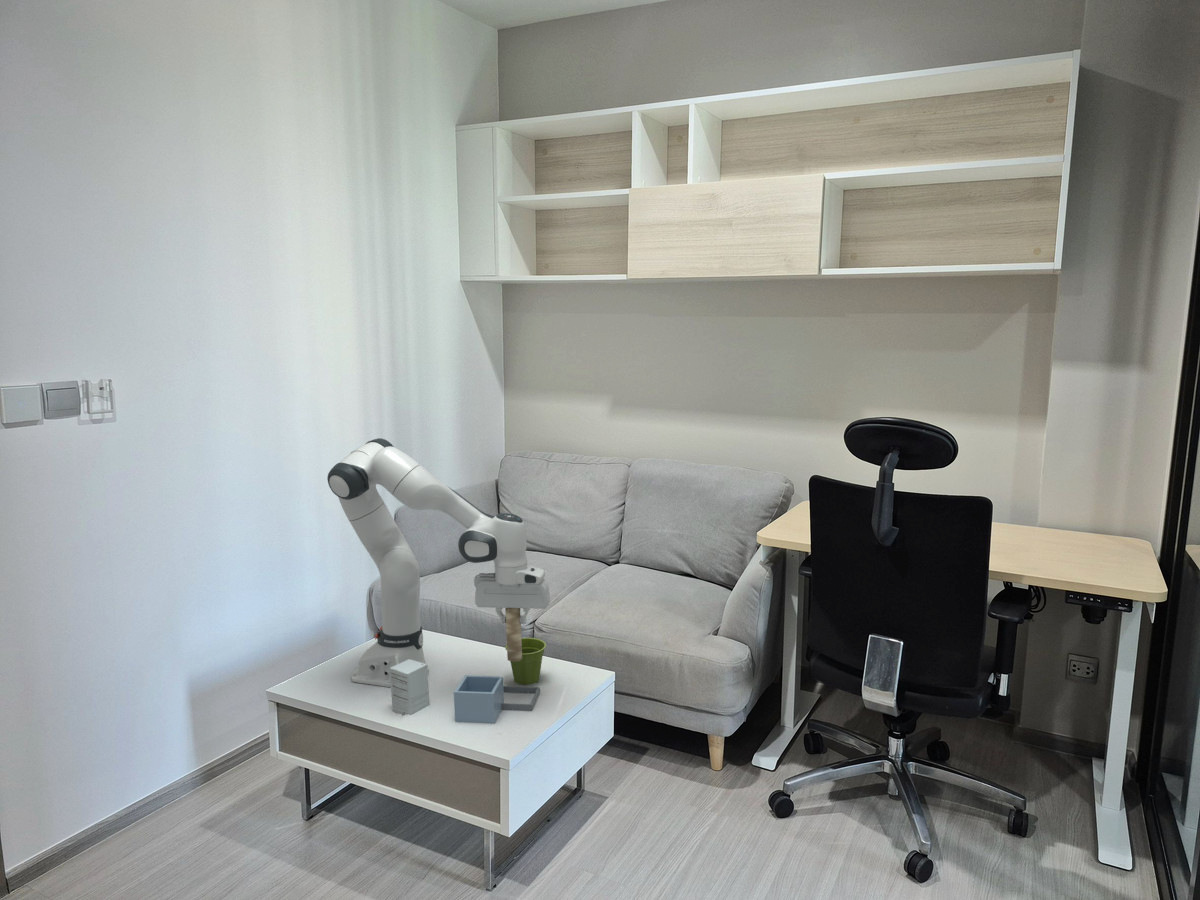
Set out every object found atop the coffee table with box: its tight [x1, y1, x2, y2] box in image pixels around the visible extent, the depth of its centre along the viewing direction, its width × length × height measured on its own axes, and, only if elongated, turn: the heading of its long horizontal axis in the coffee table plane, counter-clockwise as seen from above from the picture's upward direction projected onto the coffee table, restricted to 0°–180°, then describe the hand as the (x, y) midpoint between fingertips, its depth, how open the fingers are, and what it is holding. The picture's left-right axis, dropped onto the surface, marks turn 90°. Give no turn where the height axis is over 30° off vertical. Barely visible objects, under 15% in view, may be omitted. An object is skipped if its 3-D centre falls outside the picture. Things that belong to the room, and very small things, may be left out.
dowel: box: [504, 608, 522, 663], centre depth 228 cm, size 4×4×15 cm
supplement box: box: [390, 659, 430, 716], centre depth 228 cm, size 7×7×13 cm
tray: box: [501, 685, 541, 712], centre depth 231 cm, size 11×11×2 cm
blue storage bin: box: [453, 674, 505, 725], centre depth 223 cm, size 11×11×9 cm
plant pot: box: [504, 637, 547, 686], centre depth 244 cm, size 12×12×11 cm
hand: (513, 622), depth 227 cm, fingers closed on dowel, 4 cm apart
